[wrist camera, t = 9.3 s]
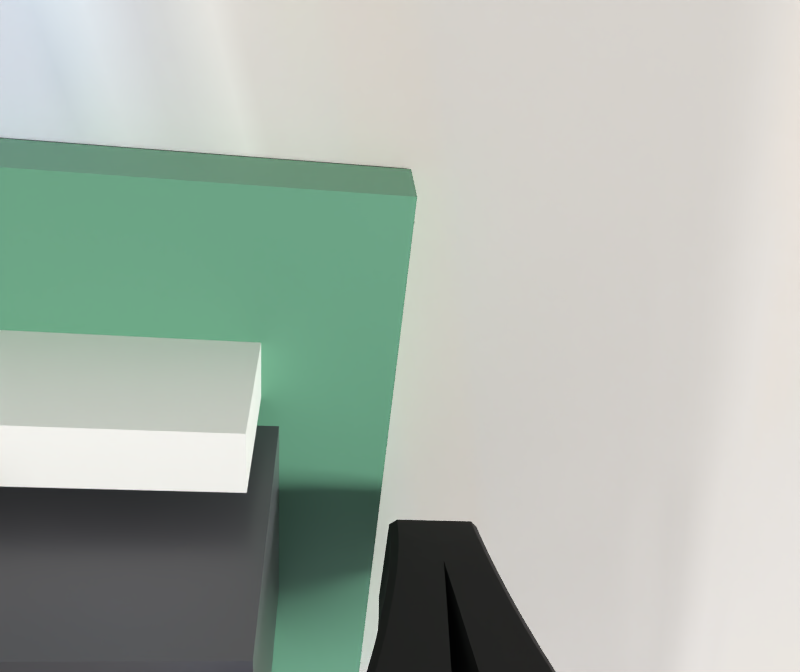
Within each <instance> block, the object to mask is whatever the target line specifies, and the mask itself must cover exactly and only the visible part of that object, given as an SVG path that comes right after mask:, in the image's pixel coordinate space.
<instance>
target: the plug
mask: <svg viewBox="0 0 800 672" xmlns="http://www.w3.org/2000/svg"><path fill="white" fill-rule="evenodd" d="M278 593H279V426H257V428H256V434H255V441H254V448H253V454H252V461H251V468H250V474H249V481H248V487H247V493H233V492H194V491H156V490H118V489H79V488H41V487H3V486H0V672H272V661H273V650H274V638H275V627H276V616H277V604H278Z"/></svg>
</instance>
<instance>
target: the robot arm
mask: <svg viewBox="0 0 800 672" xmlns="http://www.w3.org/2000/svg"><path fill="white" fill-rule="evenodd" d="M367 672H555V670H554V669H553V667H552V665H551V664H550V662H549V661H548V659H547V657H546V656H545V654H544V653H543V651H542V650H541V648H540V646H539V645H538V643H537V641H536V639H535V638H534V636H533V634H532V633H531V631H530V629H529V628H528V626H527V624H526V623H525V621H524V619H523V618H522V616H521V614H520V612H519V611H518V609H517V607H516V605H515V603H514V602H513V600H512V598H511V596H510V594H509V593H508V591H507V589H506V587H505V585H504V583H503V581H502V579H501V577H500V576H499V574H498V572H497V570H496V568H495V566H494V564H493V562H492V560H491V558H490V556H489V554H488V552H487V549H486V547H485V545H484V543H483V541H482V539H481V536H480V534H479V532H478V530H477V527H476V526H475V525H474V524H473V523H472V522H465V521H425V520H396V521H394V522H393V523H391V524H389V530H388V537H387V544H386V551H385V558H384V565H383V572H382V580H381V587H380V594H379V623H378V633H377V637H376V641H375V645H374V649H373V652H372V656H371V659H370V663H369V666H368V670H367Z"/></svg>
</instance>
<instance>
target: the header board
mask: <svg viewBox="0 0 800 672" xmlns="http://www.w3.org/2000/svg"><path fill="white" fill-rule="evenodd" d="M416 201H417V195H416V190H415V186H414V181H413V176H412V172H411V169H400V168H387V167H374V166H360V165H347V164H334V163H321V162H308V161H294V160H281V159H268V158H255V157H242V156H228V155H215V154H202V153H189V152H176V151H162V150H149V149H136V148H123V147H109V146H96V145H83V144H70V143H57V142H43V141H30V140H17V139H4V138H0V486H3V487H41V488H79V489H118V490H156V491H194V492H233V493H247V487H248V481H249V474H250V468H251V461H252V454H253V448H254V441H255V434H256V428H257V426H279V593H278V604H277V616H276V627H275V638H274V650H273V661H272V672H359V667H360V659H361V651H362V643H363V634H364V626H365V618H366V610H367V602H368V594H369V585H370V577H371V569H372V561H373V553H374V544H375V536H376V528H377V520H378V512H379V504H380V495H381V487H382V479H383V471H384V463H385V454H386V446H387V438H388V430H389V422H390V413H391V405H392V397H393V389H394V381H395V373H396V364H397V356H398V348H399V340H400V332H401V323H402V315H403V307H404V299H405V291H406V283H407V274H408V266H409V258H410V250H411V242H412V233H413V225H414V217H415V209H416Z"/></svg>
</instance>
